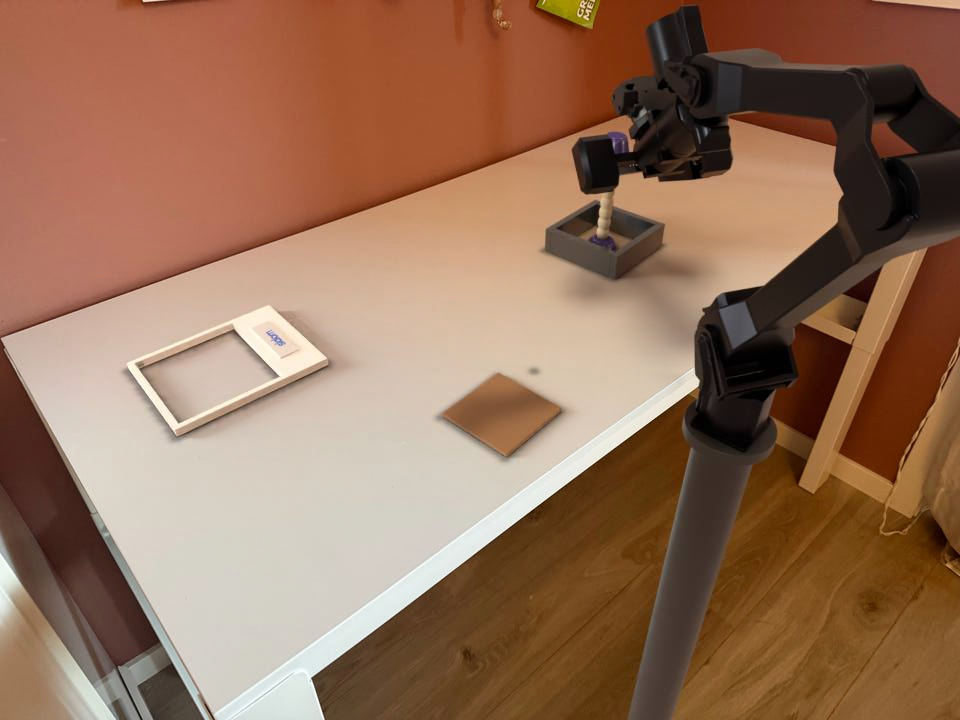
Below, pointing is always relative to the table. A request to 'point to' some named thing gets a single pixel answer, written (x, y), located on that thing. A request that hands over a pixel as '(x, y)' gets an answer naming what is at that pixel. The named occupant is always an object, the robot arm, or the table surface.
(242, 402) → the photo frame
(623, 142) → the toy lamp
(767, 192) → the table surface
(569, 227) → the grey square tray
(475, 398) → the cork pad
